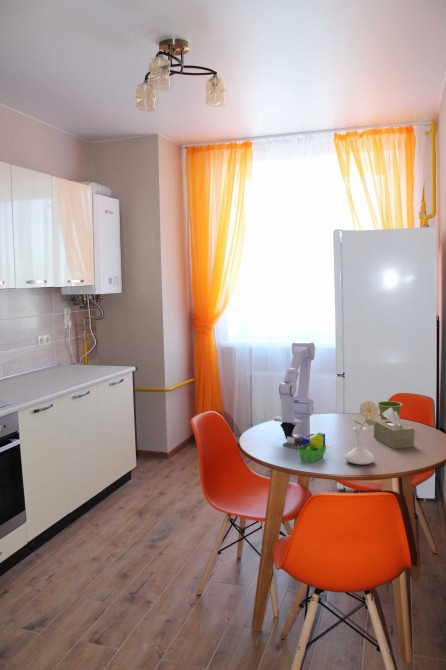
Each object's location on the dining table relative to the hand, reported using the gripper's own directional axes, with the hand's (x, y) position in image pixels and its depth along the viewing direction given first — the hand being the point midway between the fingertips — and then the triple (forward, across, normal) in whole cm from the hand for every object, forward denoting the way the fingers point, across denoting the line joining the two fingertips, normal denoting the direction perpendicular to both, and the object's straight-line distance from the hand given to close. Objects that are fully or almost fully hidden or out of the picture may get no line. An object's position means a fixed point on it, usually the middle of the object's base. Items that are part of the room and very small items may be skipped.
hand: (288, 439), depth 246 cm
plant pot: (+2, +20, +55) cm, 58 cm away
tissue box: (+2, +34, +32) cm, 47 cm away
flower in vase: (+2, +39, -2) cm, 39 cm away
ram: (+2, +4, 0) cm, 4 cm away
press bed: (+2, +9, 0) cm, 9 cm away
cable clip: (+2, +14, 0) cm, 14 cm away
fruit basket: (+2, +22, -11) cm, 24 cm away
